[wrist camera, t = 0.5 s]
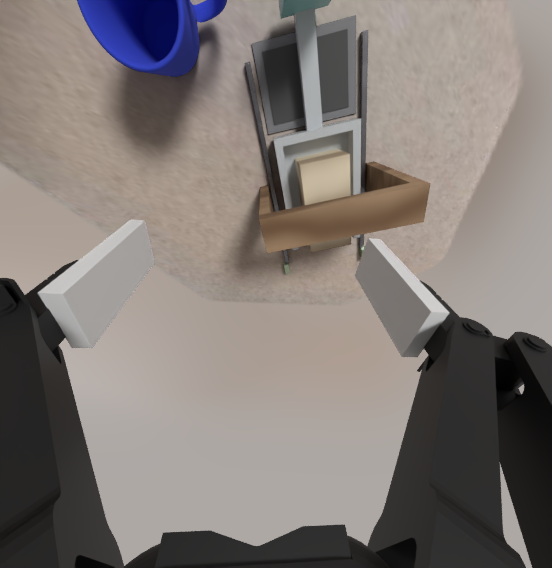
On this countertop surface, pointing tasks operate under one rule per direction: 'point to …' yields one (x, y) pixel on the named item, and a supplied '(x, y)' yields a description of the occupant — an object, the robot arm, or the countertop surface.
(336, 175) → the bar
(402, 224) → the tunnel
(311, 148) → the sled
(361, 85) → the track
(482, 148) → the countertop surface
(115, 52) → the mug
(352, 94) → the pad
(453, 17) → the countertop surface
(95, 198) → the countertop surface
